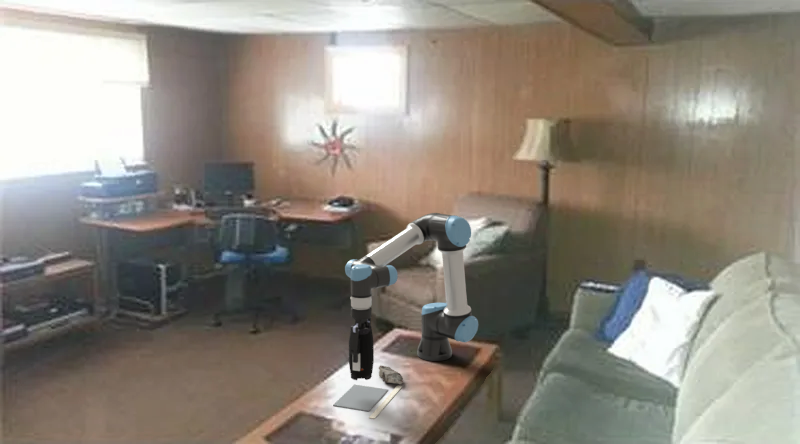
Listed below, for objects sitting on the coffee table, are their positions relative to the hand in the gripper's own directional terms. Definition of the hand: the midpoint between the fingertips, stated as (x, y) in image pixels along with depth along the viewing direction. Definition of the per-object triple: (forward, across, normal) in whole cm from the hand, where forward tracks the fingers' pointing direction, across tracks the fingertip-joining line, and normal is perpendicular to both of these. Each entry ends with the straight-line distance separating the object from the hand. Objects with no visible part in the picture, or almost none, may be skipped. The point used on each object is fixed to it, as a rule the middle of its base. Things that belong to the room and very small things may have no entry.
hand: (361, 365), depth 260 cm
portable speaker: (+5, 0, 0) cm, 5 cm away
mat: (+13, 0, 0) cm, 13 cm away
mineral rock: (+13, -19, +5) cm, 23 cm away
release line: (+13, 0, +10) cm, 16 cm away
